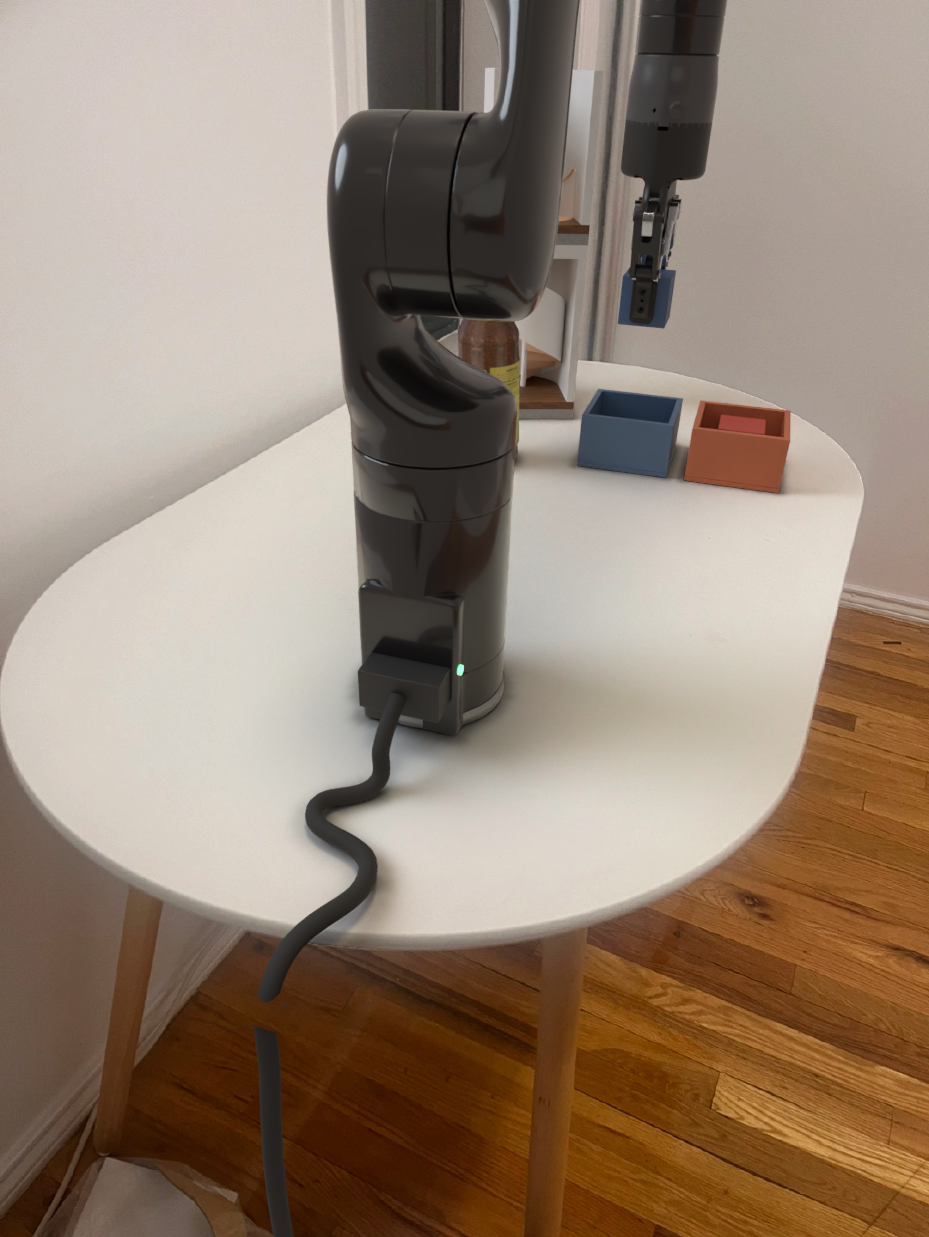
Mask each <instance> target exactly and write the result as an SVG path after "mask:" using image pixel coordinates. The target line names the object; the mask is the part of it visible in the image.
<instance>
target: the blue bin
mask: <svg viewBox="0 0 929 1237" xmlns="http://www.w3.org/2000/svg"><path fill="white" fill-rule="evenodd" d="M683 402H684V398H683V397H674V396H665V395H659V394H658V395H657V394H648V393H641V392H640V393H639V392H632V391H631V392H629V391H624V390H623V391H622V390H614V389H605V388H597V389H596V391H595V393H594V395H593V396H592V398H591V399H590V401H589V403H588V404H587V406H586V408H585V409H584V411H583V412H582V414H581V418H580V419H581V420H580V431H579V439H578V440H579V441H578V450H577V463H576V464H577V465H576V466H578V467H585V468H591V469H592V468H593V469H599V470H605V471H606V470H607V471H614V472H619V473H620V472H621V473H627V474H636V475H643V476H651V477H656V478H657V477H658V478H665V479H666V478H667V475H668V473H669V470H670V467H671V463H672V459H673V456H674V454H675V449H676V447H677V440H678V436H679V435H678V434H679V427H680V422H681V414H682V409H683V404H684V403H683Z"/></svg>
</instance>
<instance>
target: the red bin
mask: <svg viewBox="0 0 929 1237" xmlns="http://www.w3.org/2000/svg"><path fill="white" fill-rule="evenodd" d="M721 415H730V416H738V417H747V418H755V419H764V420H766V425H765V435H759V434H751V433H742V432H734V431H726V430H718V427H719V422H720V417H721ZM790 444H791V410H787V409H780V408H779V409H778V408H772V407H771V408H770V407H762V406H755V405H754V406H753V405H744V404H737V403H727V402H718V401H717V402H716V401H710V400H700V401H699V404H698V408H697V411H696V414H695V418H694V422H693V424H692V429H691V435H690V441H689V447H688V453H687V458H686V465H685V472H684V477H683V479H684V481H686V482H695V483H702V484H710V485H717V486H724V487H731V488H738V489H747V490H753V491H761V492H765V493H767V492H768V493H773V494H774V493H775V494H779V493H780V488H781V484H782V478H783V475H784V471H785V466H786V462H787V457H788V452H789V449H790Z"/></svg>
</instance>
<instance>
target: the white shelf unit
mask: <svg viewBox="0 0 929 1237" xmlns="http://www.w3.org/2000/svg"><path fill="white" fill-rule="evenodd" d="M604 73H605V72H604V70H597V69H596V70H592V69H573V74H572V85H571V96H570V108H569V119H568V130H567V141H566V152H565V164H564V175H563V186H562V196H561V205H560V214H559V223H558V232H557V239H556V245H555V252H554V258H553V262H552V267H551V271H550V275H549V279H548V282H547V285H546V288H545V291H544V294H543V296H542V298H541V301H540V302H539V304H538V306H537V307H536V309H535V310H534V311H533V312H532V313H531V314H530V315H529V316H528V317H526V318H524V319H522V320H520V321H514V322H515V324H516V326H517V328H518V330H519V343H518V344H519V358H520V386H519V420H573V417H574V416H573V415H574V406H575V396H576V386H577V375H578V373H577V372H578V364H579V352H580V351H579V350H580V339H581V329H582V328H581V327H582V317H583V307H584V306H583V305H584V295H585V285H586V272H587V261H588V251H589V250H588V249H589V240H590V239H589V237H590V226H591V218H592V217H591V216H592V205H593V194H594V184H595V183H594V181H595V172H596V161H597V151H598V150H597V148H598V137H599V126H600V114H601V105H602V92H603V82H604ZM499 81H500V67H484V96H483V97H484V98H483V113H487V112H490V111H491V110H492V109H493V107H494V105H495V103H496V100H497V96H498V91H499Z"/></svg>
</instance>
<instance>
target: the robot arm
mask: <svg viewBox="0 0 929 1237" xmlns="http://www.w3.org/2000/svg"><path fill="white" fill-rule="evenodd" d="M580 2H581V0H483V3H484V7H485V9H486V12H487V16H488V18H489V22H490V25H491V27H492V30H493V34H494V37H495V41H496V45H497V50H498V60H499V63H498V64H499V68H500V81H499V91H498V96H497V100H496V103H495V105H494V107H493V109H492V110H491V111H490V112H487V113H484V111H483V112H482V111H478V112H477V111H469V110H468V111H465V110H463V111H462V110H439V109H438V110H437V109H411V108H409V109H408V108H407V109H405V108H370V109H364V110H359V111H357V112H355V113H353V114H351V115H350V116H349V117H348V118H347V120H345V122H344V123H343V124H342V125H341V127H340V129H339V131H338V133H337V135H336V137H335V140H334V143H333V146H332V149H331V154H330V158H329V162H328V171H327V172H328V173H327V182H326V227H327V228H326V230H327V240H328V241H327V242H328V252H329V263H330V272H331V280H332V288H333V298H334V306H335V315H336V324H337V337H338V344H339V346H338V347H339V358H340V373H341V383H342V390H343V395H344V399H345V404H346V407H347V411H348V415H349V421H350V422H349V423H350V439H351V443H350V444H351V461H352V478H353V479H352V480H353V483H352V484H353V507H354V508H353V509H354V525H355V527H354V528H355V544H356V545H355V547H356V549H355V550H356V564H357V565H356V566H357V567H356V568H357V585H358V586H357V587H358V590H357V596H358V597H357V599H358V601H357V602H358V618H359V637H360V638H359V641H360V658H361V659H360V660H361V666H360V667H359V668H358V670H357V683H358V701H359V702H358V704H359V707H362V708H363V715H364V716H365V717H368V718H371V719H377V720H379V722H378V725H377V727H376V731H375V734H374V738H373V742H372V747H371V762H372V773H371V774H370V776H369V777H368V778H367V779H366V780H365V781H363V782H361V783H358V784H355V785H349V786H343V787H334V788H329V789H325V790H322V791H320V792H318V793H316V794H315V796H313V797H312V798H310V799H309V801H308V803H307V804H306V807H305V812H304V819H305V823H306V826H307V828H308V830H310V832H312V834H314V835H315V836H316V837H318V838H319V839H321V840H322V841H323V842H326V844H329V845H330V846H333V847H334V848H336V849H339V850H340V851H342V852H344V853H345V854H347V855H349V857H351V858H352V859H353V860H355V863H356V864H357V868H358V869H357V874H356V876H355V878H354V880H353V882H351V884H350V886H349V887H347V888H346V889H345V890H344V891H343V892H341V893H340V894H338V895H337V896H335V897H334V898H332V899H330V900H329V901H328V902H326V903H324V904H323V905H321V906H320V907H318V908H317V909H315V910H313V911H312V912H311V913H309V914H308V915H307V916H305V917H304V918H303V919H301V920H300V921H299V922H298V923H297V924H296V925H295V926H294V927H293V928H292V929H291V930H290V931H289V932H288V933H287V934H285V935H284V938H282V940H281V941H280V942H279V944H278V945H277V946H276V948H275V950H274V951H273V954H272V955H271V957H270V959H269V961H268V963H267V965H266V967H265V970H264V973H263V975H262V977H261V981H260V984H259V987H258V991H257V997H258V999H259V1001H261V1002H264V1003H268V1002H272V1001H274V1000H275V999H276V998H277V997H278V996H280V994H281V990H282V988H283V985H284V982H285V980H286V977H287V975H288V972H289V970H290V968H291V966H292V964H293V963H294V961H295V959H296V958H297V957H298V955H299V954H300V952H301V951H302V950H303V949H304V948H305V946H307V945H308V944H309V943H310V942H311V941H312V940H313V939H314V938H315V937H317V936H318V935H319V934H321V933H322V932H323V931H325V930H326V929H328V928H329V927H331V926H332V925H333V924H335V923H336V922H338V921H340V920H342V919H343V918H344V917H346V916H347V915H349V914H350V913H351V912H352V911H354V910H355V909H356V908H358V907H359V906H360V905H362V903H363V902H364V901H365V900H366V899H367V898H368V897H369V895H370V894H371V893H372V891H373V890H374V887H375V884H376V882H377V876H378V870H379V868H378V867H379V864H378V860H377V859H378V858H377V855H376V854H375V852H374V850H373V849H372V848H371V847H370V846H369V845H368V844H367V843H366V842H365V841H363V840H362V839H361V838H359V837H358V836H356V835H355V834H353V833H351V832H350V831H347V830H345V829H343V828H342V827H340V826H337V825H335V824H334V823H332V822H331V821H329V820H328V819H327V818H326V817H325V815H324V813H325V811H326V810H328V809H331V808H336V807H343V806H349V805H350V806H351V805H355V804H360V803H363V802H366V801H368V800H370V799H372V798H374V797H375V796H377V795H378V794H379V793H380V792H381V791H382V790H384V788H385V787H386V785H387V784H388V782H389V780H390V776H391V758H390V752H391V747H392V743H393V738H394V735H395V732H396V728H397V726H398V724H399V725H403V726H405V727H412V728H417V729H423V730H427V731H432V732H435V733H439V734H445V735H449V736H455V735H457V734H458V733H459V731H460V729H461V728H462V727H463V726H464V725H466V724H469V723H472V722H475V721H477V720H479V719H481V718H482V717H484V716H486V715H487V714H488V713H491V711H492V710H493V709H495V708H496V706H497V705H498V704H499V703H500V700H501V699H502V698H503V694H504V690H505V689H504V688H505V670H504V662H505V661H504V660H505V644H506V643H505V642H506V625H507V624H506V623H507V622H506V621H507V605H508V604H507V603H508V585H509V567H510V566H509V564H510V547H511V530H512V513H513V512H512V511H513V492H514V479H515V464H516V463H515V462H516V459H515V441H516V427H517V405H516V401H515V397H514V395H513V393H512V391H511V390H510V389H509V387H508V386H507V385H506V384H505V383H504V382H502V381H501V380H500V379H498V378H497V377H495V376H493V375H492V374H490V373H488V372H486V371H484V370H482V369H480V368H478V367H476V366H474V365H472V364H470V363H468V362H466V361H464V360H463V359H461V358H459V356H458V355H456V354H455V353H454V352H453V351H451V350H449V349H448V348H447V347H445V346H444V344H442V343H441V342H440V341H439V340H437V338H436V337H435V336H434V335H433V334H432V333H431V332H430V331H429V330H428V328H427V327H426V325H425V323H424V321H423V318H422V316H426V317H437V318H448V319H460V320H463V319H468V320H469V319H470V320H482V321H496V322H511V321H520V320H522V319H524V318H526V317H528V316H529V315H530V314H531V313H532V312H533V311H534V310H535V309H536V307H537V306H538V304H539V302H540V301H541V298H542V296H543V294H544V291H545V288H546V285H547V282H548V279H549V275H550V271H551V267H552V262H553V258H554V252H555V245H556V239H557V232H558V223H559V214H560V205H561V196H562V186H563V175H564V164H565V152H566V141H567V130H568V119H569V108H570V96H571V85H572V74H573V70H574V62H575V52H576V43H577V42H576V41H577V31H578V30H577V29H578V21H579V14H580V13H579V11H580V4H581V3H580ZM727 6H728V0H640V3H639V14H638V16H639V17H638V24H637V33H636V34H637V35H636V43H635V53H636V54H635V55H634V60H633V66H632V70H631V74H630V78H629V85H628V92H627V102H626V113H625V121H624V122H625V123H624V130H623V140H622V150H621V151H622V152H621V162H620V171H621V173H622V174H623V175H624V176H626V177H629V178H633V179H642V180H643V182H644V185H643V186H644V187H643V191H642V195H641V196H638V199H635V200H634V204H633V210H632V222H633V227H632V235H631V243H630V252H631V253H630V266H629V267H628V269H629V274H630V278H632V281H634V282H633V289H632V298H631V306H630V315H629V320H630V321H631V322H632V323H639V324H650V323H651V322H652V320H653V316H654V308H655V301H656V293H657V285H658V282H659V279H660V278H661V274H660V271H661V269H666V270H667V268H669V261H670V258H671V257H672V249H673V248H674V245H675V242H676V235H677V227H678V226H677V225H678V221H679V218H680V216H681V213H682V207H683V206H682V205H683V199H682V198H680V195H679V194H677V192H676V191H677V184H678V181H693V180H698V179H701V178H702V177H703V176H704V175H705V174H706V168H707V162H708V154H709V149H710V148H709V147H710V141H711V135H712V128H713V121H714V114H715V108H716V101H717V94H718V85H719V60H720V56H719V55H720V53H721V52H720V51H721V44H722V37H723V30H724V24H725V17H726V12H727ZM253 1031H254V1044H255V1051H256V1059H257V1068H258V1084H259V1085H258V1086H259V1089H258V1090H259V1119H260V1120H259V1121H260V1136H261V1153H262V1164H263V1174H264V1176H263V1177H264V1184H265V1193H266V1199H267V1206H268V1213H269V1220H270V1225H271V1231H272V1237H295V1236H294V1230H293V1225H292V1218H291V1211H290V1205H289V1197H288V1188H287V1180H286V1169H285V1168H286V1166H285V1153H284V1137H283V1136H284V1134H283V1116H282V1111H283V1110H282V1065H281V1055H280V1054H281V1053H280V1046H279V1038H278V1033H277V1032H276V1031H274V1030H273V1031H272V1030H270V1029H266V1028H263V1027H261V1026H257V1025H253Z"/></svg>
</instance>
